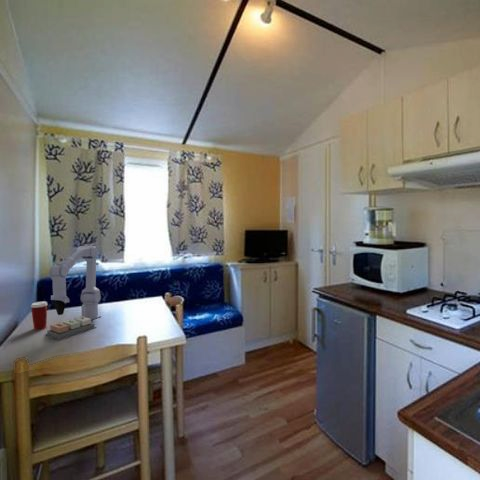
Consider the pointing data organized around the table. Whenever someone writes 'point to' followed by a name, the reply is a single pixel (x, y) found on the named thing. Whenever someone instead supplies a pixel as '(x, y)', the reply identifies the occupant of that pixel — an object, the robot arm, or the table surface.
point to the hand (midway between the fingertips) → (60, 314)
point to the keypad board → (69, 331)
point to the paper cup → (39, 315)
